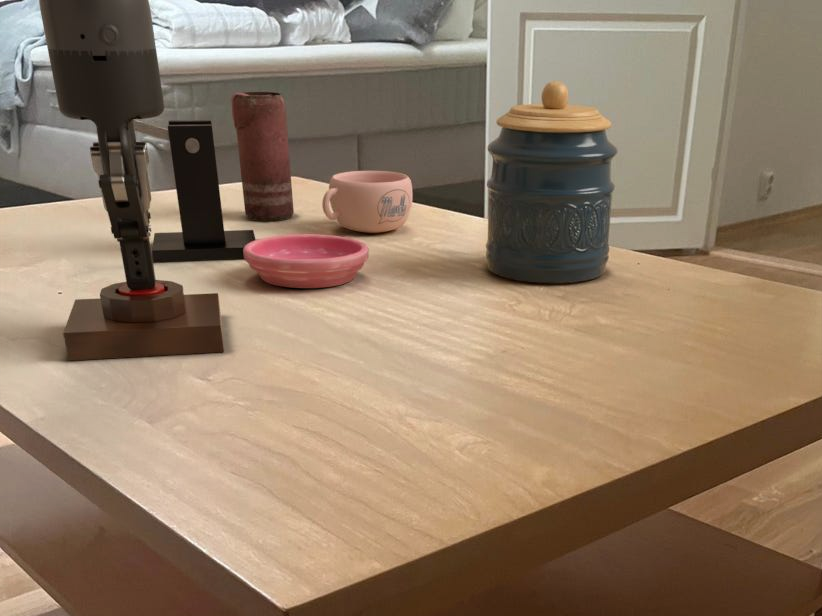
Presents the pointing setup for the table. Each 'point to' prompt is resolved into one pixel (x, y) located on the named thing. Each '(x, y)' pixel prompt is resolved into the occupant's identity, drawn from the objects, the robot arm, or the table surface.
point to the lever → (151, 129)
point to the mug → (369, 200)
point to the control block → (144, 324)
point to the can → (263, 155)
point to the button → (141, 291)
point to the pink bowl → (306, 259)
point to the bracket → (197, 201)
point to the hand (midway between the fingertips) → (142, 287)
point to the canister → (550, 192)
